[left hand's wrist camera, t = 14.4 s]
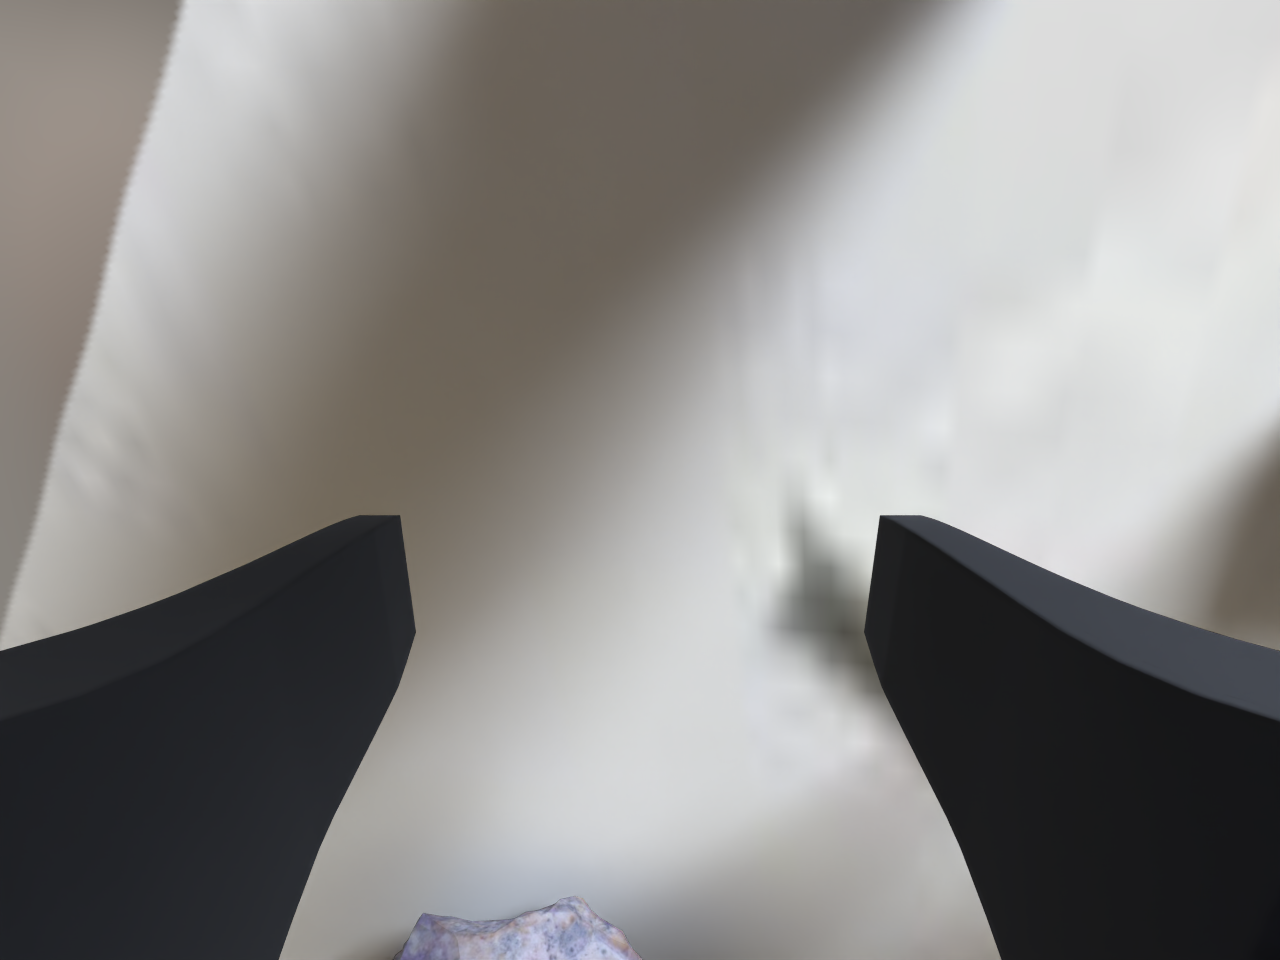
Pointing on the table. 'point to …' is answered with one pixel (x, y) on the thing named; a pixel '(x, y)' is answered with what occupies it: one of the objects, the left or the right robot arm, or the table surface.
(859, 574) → the table surface
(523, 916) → the stone
